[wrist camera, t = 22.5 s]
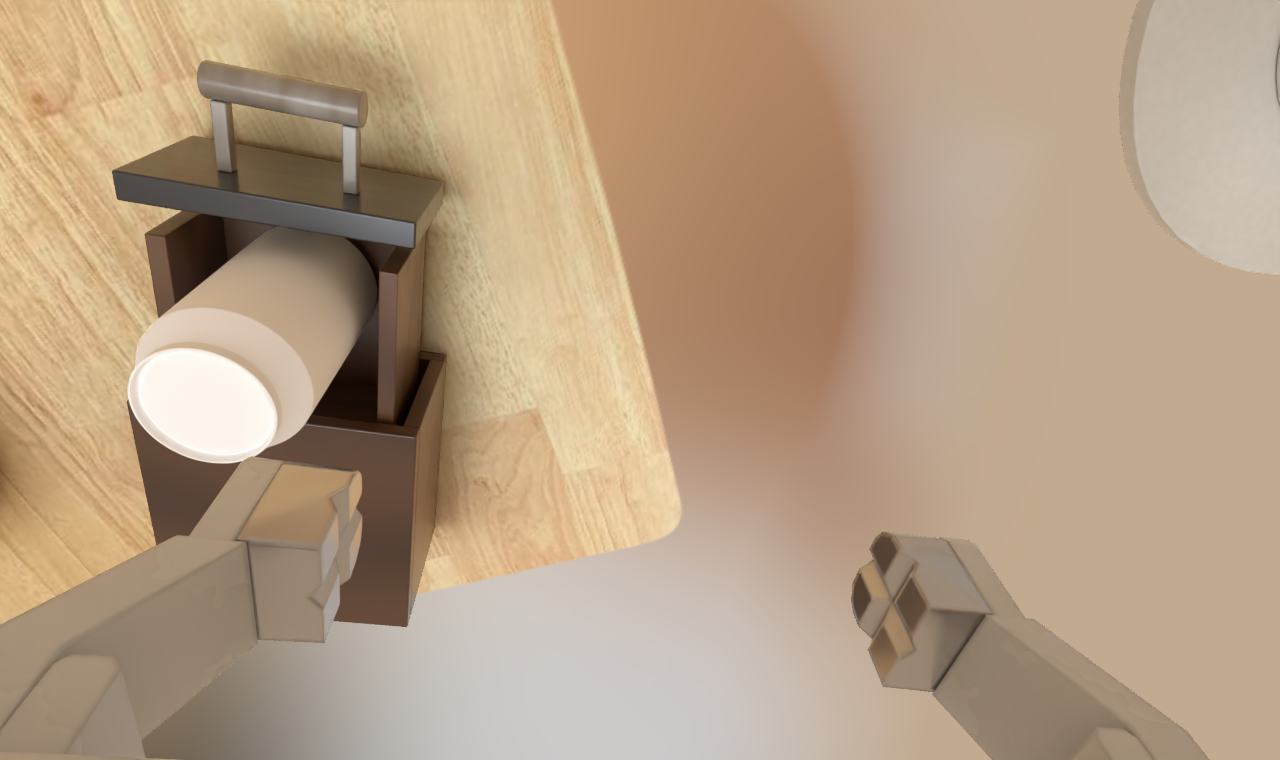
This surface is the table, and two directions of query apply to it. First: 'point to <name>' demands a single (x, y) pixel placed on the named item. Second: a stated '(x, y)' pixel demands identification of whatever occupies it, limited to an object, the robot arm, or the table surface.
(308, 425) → the cabinet
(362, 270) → the beverage can
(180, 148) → the drawer
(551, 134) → the table surface
